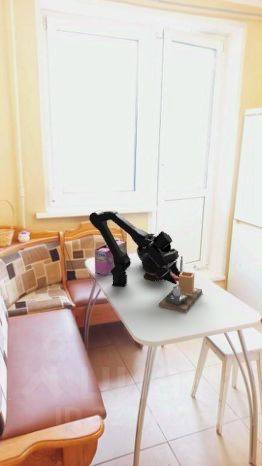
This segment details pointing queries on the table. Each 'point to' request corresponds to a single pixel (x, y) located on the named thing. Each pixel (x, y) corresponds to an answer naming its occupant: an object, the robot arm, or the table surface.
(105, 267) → the gum box
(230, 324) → the table surface
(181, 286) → the tan cardboard box
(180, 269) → the tow hook
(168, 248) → the bowl of black rocks
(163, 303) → the board
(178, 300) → the vise
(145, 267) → the black ball on stand
